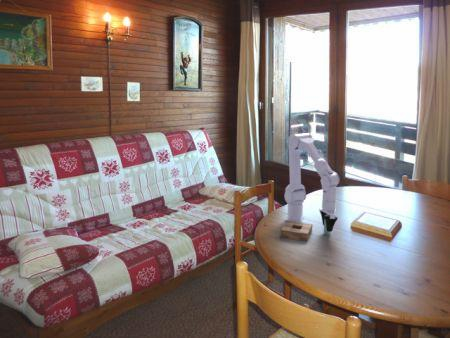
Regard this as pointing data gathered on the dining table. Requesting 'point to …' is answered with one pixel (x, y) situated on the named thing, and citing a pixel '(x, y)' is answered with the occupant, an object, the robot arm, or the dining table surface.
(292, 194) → the robot arm
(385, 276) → the dining table surface
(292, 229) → the socket block
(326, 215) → the peg
